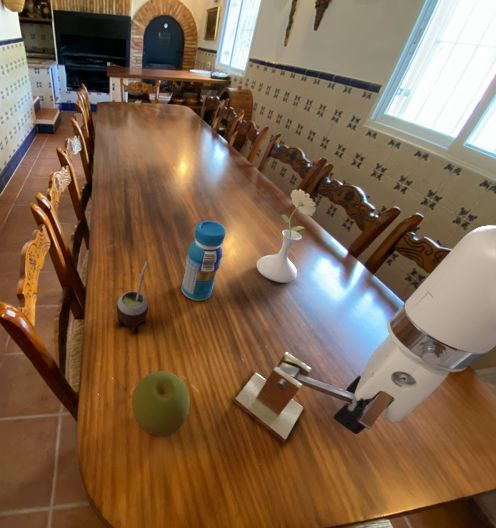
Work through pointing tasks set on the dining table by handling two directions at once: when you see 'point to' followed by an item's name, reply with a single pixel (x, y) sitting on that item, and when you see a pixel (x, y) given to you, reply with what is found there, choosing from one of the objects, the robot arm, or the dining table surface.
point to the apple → (160, 403)
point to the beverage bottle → (203, 260)
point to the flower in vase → (286, 244)
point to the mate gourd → (132, 307)
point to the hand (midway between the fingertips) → (351, 409)
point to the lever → (320, 385)
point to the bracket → (274, 398)
